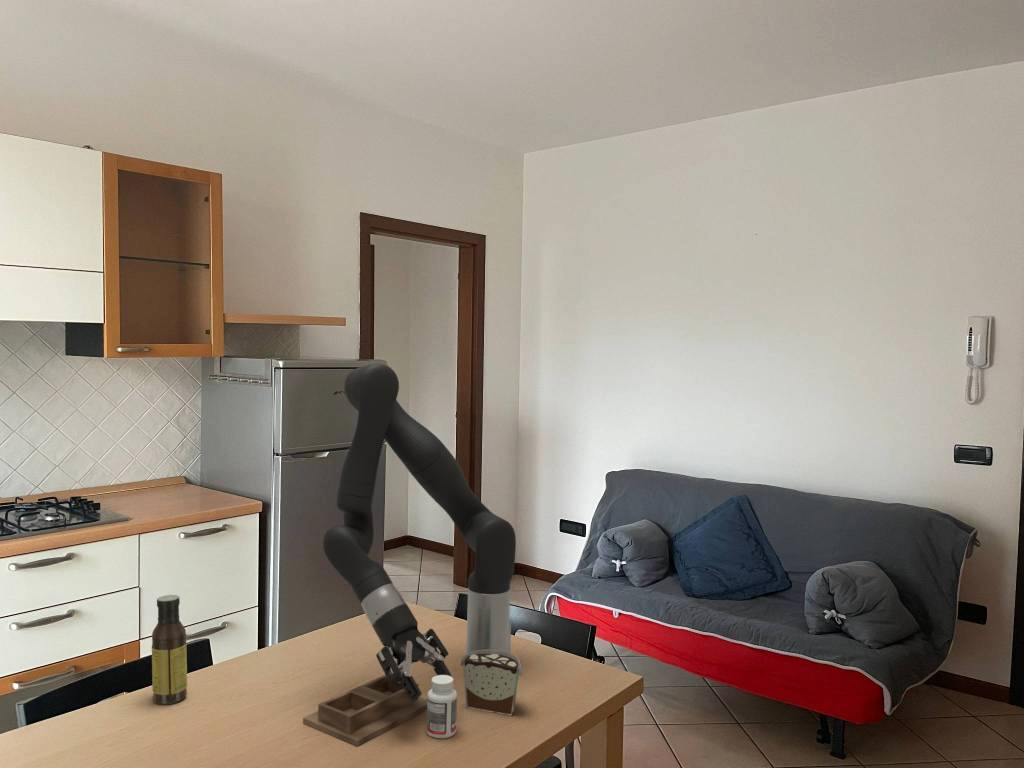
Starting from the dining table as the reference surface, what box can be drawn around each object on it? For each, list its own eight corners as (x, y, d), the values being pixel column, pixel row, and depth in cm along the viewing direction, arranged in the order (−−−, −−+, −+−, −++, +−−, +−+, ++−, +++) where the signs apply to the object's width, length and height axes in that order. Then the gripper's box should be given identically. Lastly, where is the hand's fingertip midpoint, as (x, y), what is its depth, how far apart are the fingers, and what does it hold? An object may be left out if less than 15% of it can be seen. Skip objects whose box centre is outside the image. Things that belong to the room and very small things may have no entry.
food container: (529, 704, 158) (530, 654, 158) (519, 717, 152) (520, 665, 152) (471, 694, 162) (472, 645, 162) (459, 706, 156) (460, 655, 156)
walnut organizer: (379, 687, 164) (380, 668, 163) (432, 706, 156) (433, 686, 156) (302, 723, 147) (303, 701, 147) (357, 746, 139) (357, 723, 139)
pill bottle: (445, 722, 149) (446, 670, 149) (462, 733, 145) (463, 680, 145) (420, 730, 146) (421, 677, 145) (437, 742, 142) (438, 687, 141)
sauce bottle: (187, 690, 160) (189, 591, 159) (186, 703, 154) (187, 600, 153) (152, 694, 158) (153, 593, 157) (149, 707, 152) (151, 603, 151)
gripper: (372, 612, 145) (418, 692, 139) (425, 594, 156) (469, 667, 150) (351, 634, 148) (395, 713, 142) (403, 615, 160) (446, 688, 154)
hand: (433, 690), depth 146 cm, fingers open, 8 cm apart
